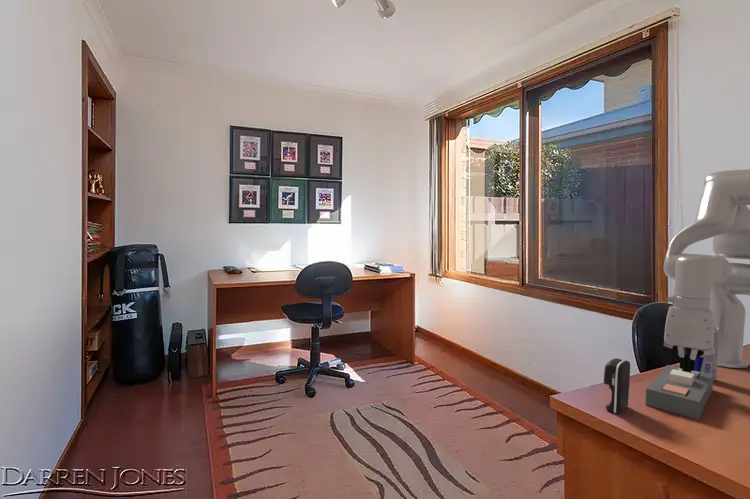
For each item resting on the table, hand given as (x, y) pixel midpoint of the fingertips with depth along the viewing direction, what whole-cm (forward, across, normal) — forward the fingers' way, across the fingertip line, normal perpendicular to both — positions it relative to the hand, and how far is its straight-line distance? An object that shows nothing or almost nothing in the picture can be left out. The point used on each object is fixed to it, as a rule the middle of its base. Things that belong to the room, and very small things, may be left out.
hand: (686, 372), depth 107 cm
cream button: (+2, 0, -8) cm, 8 cm away
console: (+4, 0, -8) cm, 9 cm away
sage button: (+3, 0, 0) cm, 3 cm away
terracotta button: (+3, 0, -16) cm, 16 cm away
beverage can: (+4, +2, +12) cm, 13 cm away
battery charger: (+5, -10, -27) cm, 29 cm away
